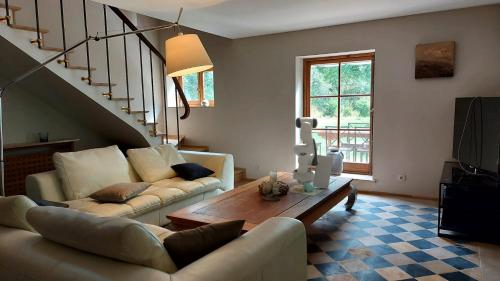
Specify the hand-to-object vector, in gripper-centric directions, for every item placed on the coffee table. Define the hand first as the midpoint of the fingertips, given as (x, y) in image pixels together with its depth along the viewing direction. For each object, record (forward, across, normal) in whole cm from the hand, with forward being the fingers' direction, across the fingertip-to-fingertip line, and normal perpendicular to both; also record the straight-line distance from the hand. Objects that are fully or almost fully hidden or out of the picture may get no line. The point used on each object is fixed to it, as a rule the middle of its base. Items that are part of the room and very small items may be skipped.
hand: (303, 185), depth 321 cm
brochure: (+5, -9, -18) cm, 21 cm away
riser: (+6, +3, 0) cm, 7 cm away
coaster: (+3, -4, 0) cm, 5 cm away
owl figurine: (+6, +11, +38) cm, 40 cm away
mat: (+6, -10, 0) cm, 11 cm away
